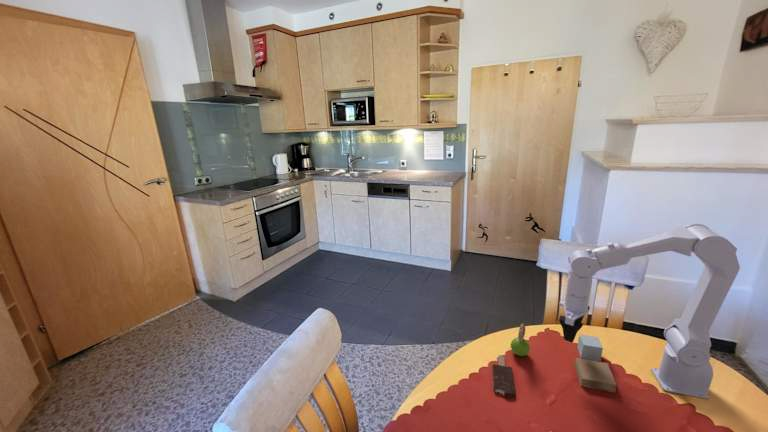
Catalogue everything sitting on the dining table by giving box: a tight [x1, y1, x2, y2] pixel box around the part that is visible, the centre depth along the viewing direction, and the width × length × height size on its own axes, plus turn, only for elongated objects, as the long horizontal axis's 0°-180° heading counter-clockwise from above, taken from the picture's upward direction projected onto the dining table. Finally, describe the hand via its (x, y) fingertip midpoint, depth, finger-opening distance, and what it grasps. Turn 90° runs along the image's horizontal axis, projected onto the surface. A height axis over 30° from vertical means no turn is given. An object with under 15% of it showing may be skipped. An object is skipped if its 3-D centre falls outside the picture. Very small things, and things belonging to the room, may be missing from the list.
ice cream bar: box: [492, 355, 516, 399], centre depth 91 cm, size 5×2×15 cm
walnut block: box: [574, 357, 617, 394], centre depth 89 cm, size 8×8×3 cm
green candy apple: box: [510, 323, 531, 357], centre depth 97 cm, size 5×6×12 cm
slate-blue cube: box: [577, 333, 604, 362], centre depth 97 cm, size 5×5×5 cm
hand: (571, 333), depth 93 cm, fingers open, 7 cm apart
